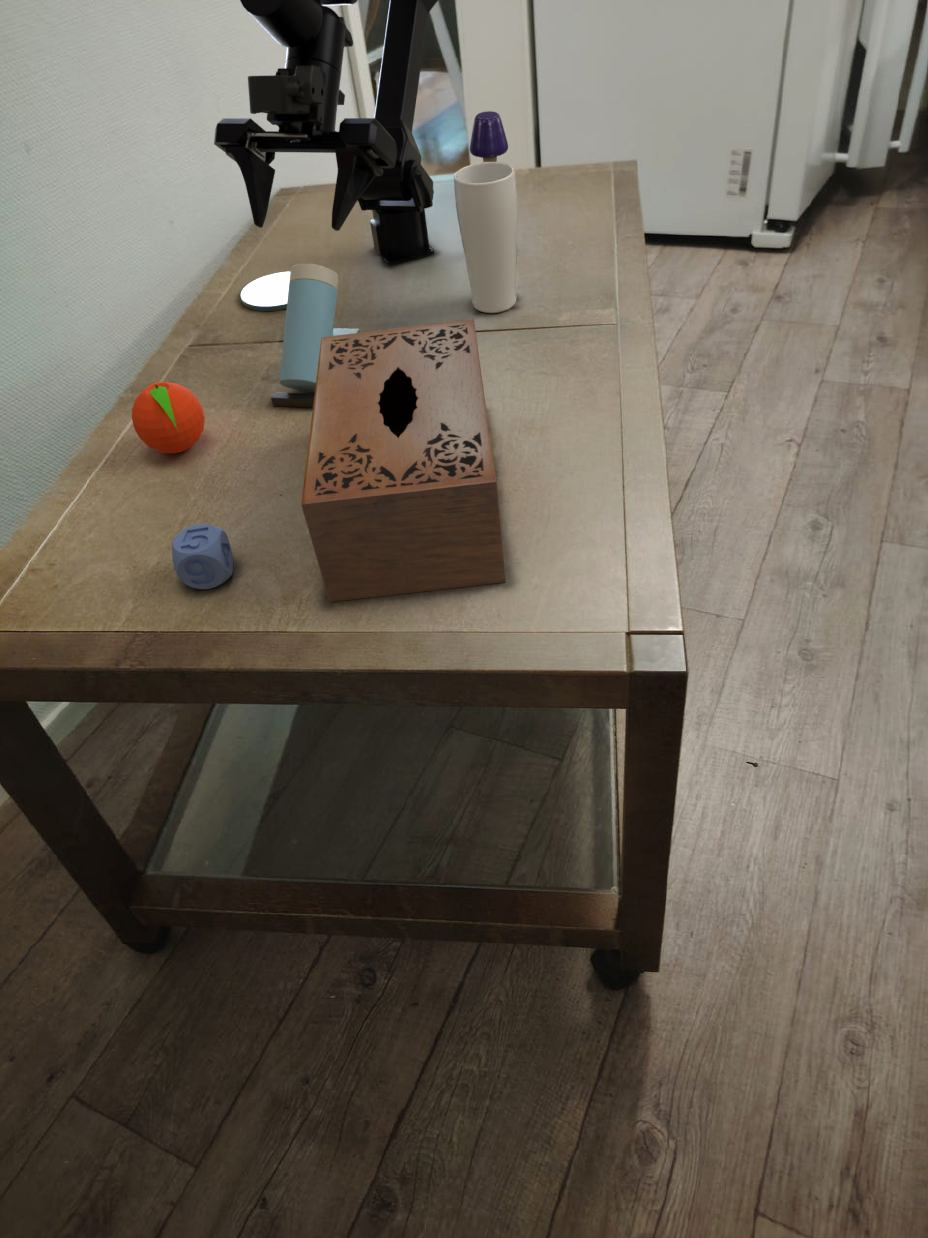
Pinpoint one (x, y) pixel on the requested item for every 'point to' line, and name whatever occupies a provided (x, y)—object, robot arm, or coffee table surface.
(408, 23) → the robot arm
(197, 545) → the decorative dice
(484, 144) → the toy lamp
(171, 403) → the clementine
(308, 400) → the cradle
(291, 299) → the plastic bottle
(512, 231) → the drinking glass
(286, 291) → the coaster
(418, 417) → the tissue box cover
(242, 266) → the coffee table surface
